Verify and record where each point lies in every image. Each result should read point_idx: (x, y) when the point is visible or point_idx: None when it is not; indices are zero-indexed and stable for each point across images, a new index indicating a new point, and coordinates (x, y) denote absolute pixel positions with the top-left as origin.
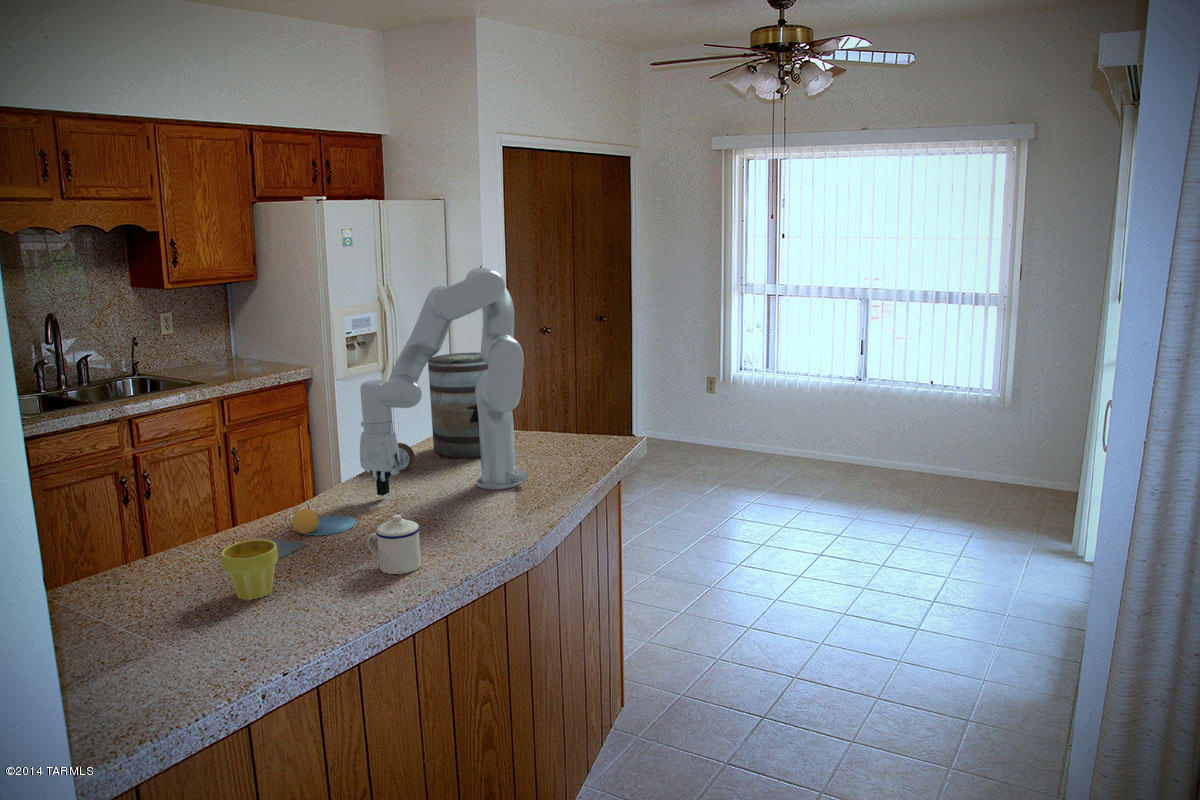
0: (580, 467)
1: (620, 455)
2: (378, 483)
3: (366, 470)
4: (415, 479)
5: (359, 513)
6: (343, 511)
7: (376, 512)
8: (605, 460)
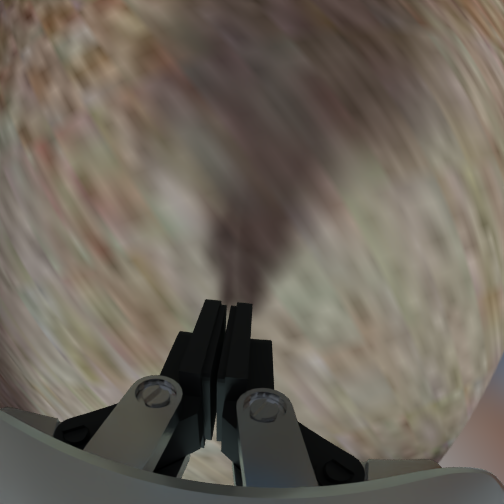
0: None
1: None
2: (224, 363)
3: (414, 468)
4: None
5: (217, 25)
6: (348, 34)
7: (121, 79)
8: None
